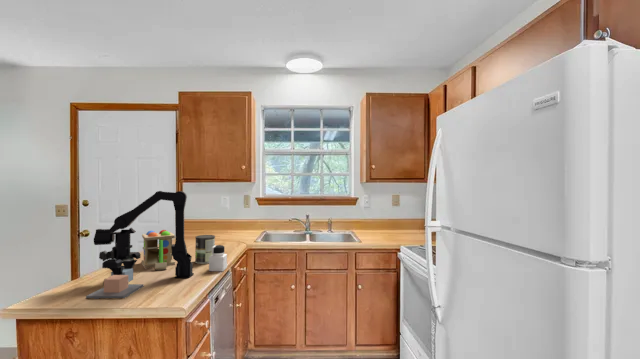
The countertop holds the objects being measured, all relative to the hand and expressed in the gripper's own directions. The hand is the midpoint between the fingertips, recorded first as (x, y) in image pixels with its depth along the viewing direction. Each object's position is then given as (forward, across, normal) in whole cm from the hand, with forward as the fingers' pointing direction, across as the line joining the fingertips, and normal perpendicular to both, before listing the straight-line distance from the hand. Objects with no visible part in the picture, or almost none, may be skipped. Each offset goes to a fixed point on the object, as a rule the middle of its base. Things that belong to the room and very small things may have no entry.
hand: (122, 279), depth 141 cm
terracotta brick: (0, +14, +6) cm, 15 cm away
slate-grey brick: (+1, 0, 0) cm, 1 cm away
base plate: (+1, +14, +6) cm, 15 cm away
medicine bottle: (+1, -20, +36) cm, 41 cm away
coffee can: (+1, -36, +24) cm, 43 cm away
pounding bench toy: (+1, -28, +3) cm, 28 cm away
